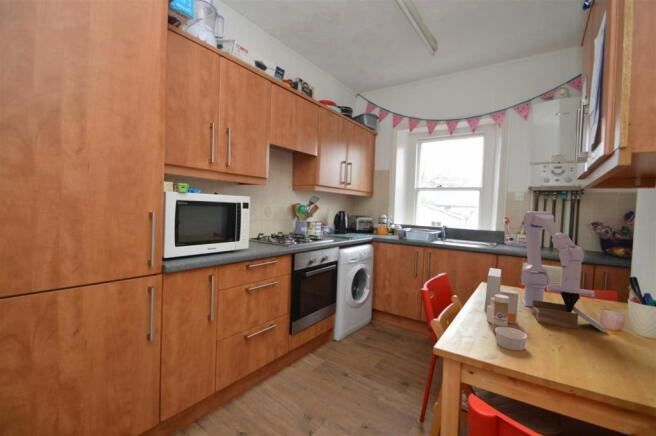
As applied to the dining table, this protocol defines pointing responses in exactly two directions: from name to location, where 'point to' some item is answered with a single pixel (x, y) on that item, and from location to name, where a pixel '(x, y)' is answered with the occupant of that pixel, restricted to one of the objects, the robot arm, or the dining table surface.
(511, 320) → the skincare box
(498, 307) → the sprinkles bottle
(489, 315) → the salt shaker
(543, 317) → the case
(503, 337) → the ramekin
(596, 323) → the lid
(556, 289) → the robot arm
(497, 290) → the skincare box
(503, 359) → the dining table surface
